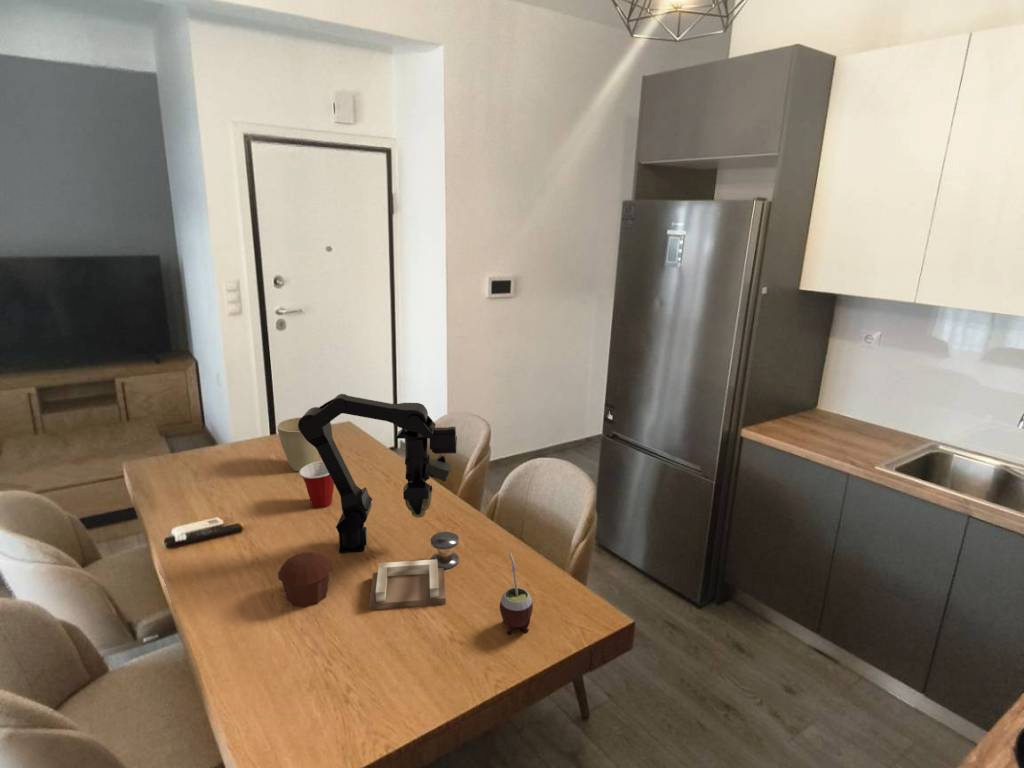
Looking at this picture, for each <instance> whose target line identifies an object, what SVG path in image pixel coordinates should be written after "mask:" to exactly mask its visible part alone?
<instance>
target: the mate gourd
mask: <svg viewBox="0 0 1024 768" xmlns="http://www.w3.org/2000/svg"><path fill="white" fill-rule="evenodd" d="M508 554H509V557H510V560H511V565H512V567H511V569H512V570H511V571H512V572H513V583H514V584H513V585H514V587H512V588H509V589H507V590H506V591H505V592H504V593H503V594H502V596H501V598H500V602H499V611H500V615H501V618H502V623H504V624H506V626H507V631H506V635H508V636H511V635H512V633H514V632H515V630H519V631H520V632H524V633H526V634H527V633H529V630H530V629H529V628H528V627H529V626H530V622H531V616H532V613H533V609H534V605H533V599H532V597H531V594H530V593H529V592H528V591H527V590H526V589H524V588H520V587H518V583H517V581H518V580H517V567H516V564H515V560H514V557H513V554H512V551H508Z"/></svg>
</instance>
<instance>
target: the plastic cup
mask: <svg viewBox="0 0 1024 768" xmlns="http://www.w3.org/2000/svg"><path fill="white" fill-rule="evenodd" d="M298 472H299V475H300V476H301V477H302V480H303V481H304V484H305V487H306V490H307V494H308V497H309V500H310V503H311V505H312V507H313V508H314V509H315V508H316V509H323V508H328V507H329V506H330V505H331V504H332V502H333V497H334V494H333V493H334V488H335V484H334V482H333V480H332V478H331V476H330V474H329V472H328V470H327V468H326V467H325V465H324V463H323V461H322V460H317V461H316V462H313V463H310V464H308V465H306V466H304V467H303V468H301V470H300V471H298Z"/></svg>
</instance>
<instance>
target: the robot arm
mask: <svg viewBox="0 0 1024 768" xmlns="http://www.w3.org/2000/svg"><path fill="white" fill-rule="evenodd" d="M427 409H428V408H426V406H425V405H424V404H423V403H419V402H402V403H401V402H400V403H390V402H384V401H379V400H372V399H368V398H361V397H357V396H352V395H351V396H350V395H347V394H345V393H340V394H337V395H336V396H335V397H334V398H332V399H330V400H329V401H327V402H324V404H322V405H320V406H319V407H318V406H315V407H311V408H309V409H308V410H307V411H306V412H305V413H304V415H303V416H302V418H301V419H300V420H299V423H298V428H299V431H300V432H301V434H302V435H303V436H304V438H305V439H306V440H307V441H308V442H309V443H310V444H312V445H313V446H314V447H315V448H316V449H317V451H318V453H319V454H318V456H319V457H320V458H321V461H323V463H324V465H325V467H326V468H327V470H328V472H329V474H330V476H331V478H332V480H333V482H334V487H335V488H336V490H337V492H338V494H339V497H340V505H341V511H342V512H341V515H340V518H339V519H338V521H337V524H336V526H335V528H336V530H337V532H338V542H339V543H338V545H339V547H338V553H339V554H344V553H358V552H362V553H363V552H364V551H365V547H366V546H367V545H368V532H367V531H368V529H367V526H365V523H366V522H367V519H368V516H369V514H370V512H371V509H372V507H373V505H372V501H373V498H372V497H371V496H370V494H369V492H368V488H367V487H366V486H365V487H363V488H360V487H359V486H357V484H356V483H355V480H354V479H353V477H352V474H351V472H350V471H349V468H348V466H347V464H346V462H345V461H344V458H343V456H342V454H341V453H340V450H339V449H338V447H337V445H336V442H335V440H334V437H333V430H332V424H331V422H332V421H333V420H334V419H336V418H337V417H339V416H340V415H341V414H346V415H350V416H351V415H352V416H356V417H361V418H366V419H373V420H379V421H383V422H389V423H391V424H393V425H394V426H396V427H397V428H400V430H399V431H398V432H397V435H396V439H400V440H401V439H404V454H405V455H404V456H405V458H404V465H405V480H407V482H406V483H405V484H404V485H403V488H404V491H403V493H402V494H403V500H404V501H405V500H408V502H409V503H410V505H411V507H412V509H413V511H414V512H415V514H416V515H420V512H421V507H422V502H423V499H428V498H429V485H428V484H429V483H427V481H428V480H430V479H431V478H434V479H437V480H440V481H441V482H447V481H448V478H449V475H450V473H451V470H452V469H451V464H450V463H449V462H448V461H447V459H446V456H445V455H447V454H449V455H451V454H452V455H455V454H457V452H458V451H457V450H458V436H457V431H456V430H457V429H456V426H449V427H436V425H437V424H436V423H435V421H434V420H433V419H432V418H431V417H430V416H429V413H428V410H427ZM428 440H429V442H428ZM428 443H429V444H428ZM428 445H429V447H428ZM428 449H429V450H431V453H434V454H437V455H438V454H439V456H437V457H436V458H433V459H432V458H430V454H429V450H428ZM443 454H445V455H443Z"/></svg>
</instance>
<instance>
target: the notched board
mask: <svg viewBox="0 0 1024 768" xmlns="http://www.w3.org/2000/svg"><path fill="white" fill-rule="evenodd" d="M371 578H372V579H371V586H370V593H369V594H370V595H369V601H368V609H369V611H370V610H382V609H396V608H397V609H398V608H407V607H409V608H410V607H419V606H420V607H422V606H423V607H424V606H436V605H446V603H447V602H446V601H447V599H446V585H445V584H446V582H445V569H444V568H438V562H437V559H434V560H431V559H421V560H406V561H391V562H378V570H377V571H375V572H372V577H371Z"/></svg>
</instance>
